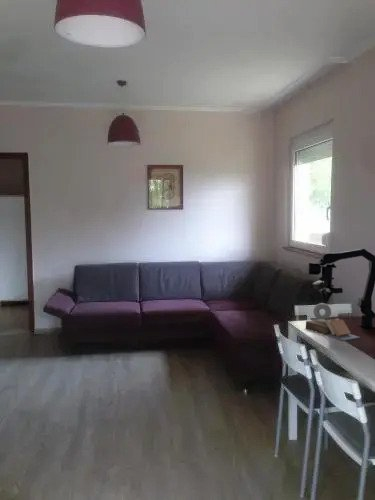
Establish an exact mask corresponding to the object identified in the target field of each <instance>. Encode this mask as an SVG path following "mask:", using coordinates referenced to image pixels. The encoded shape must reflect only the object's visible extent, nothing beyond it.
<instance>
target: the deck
mask: <svg viewBox="0 0 375 500" xmlns="http://www.w3.org/2000/svg"><path fill="white" fill-rule="evenodd" d="M327 320H328V319H326V320H324V319H312V320H306V321H305V329H306V330H309V331H312V332H315V333H318V334H320V335H324V336H326V334H331V331H330V329H329V328H328V326H327V324H326V321H327Z"/></svg>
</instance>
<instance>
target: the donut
mask: <svg viewBox="0 0 375 500" xmlns="http://www.w3.org/2000/svg"><path fill="white" fill-rule="evenodd" d="M321 310H324V314H321V313H320V311H321ZM312 311H313V312H312V313H313V315H314V317H315V318H316V320H318V319H324V320H329V318H330V317H331V316H332V309H331V307H330V306H329V305H328V303H323V302H321V303H318V304H316V305H315V306H314V307H313V310H312Z"/></svg>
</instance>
